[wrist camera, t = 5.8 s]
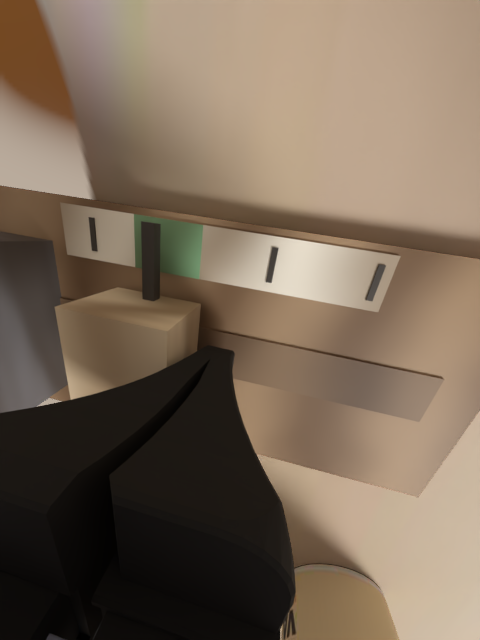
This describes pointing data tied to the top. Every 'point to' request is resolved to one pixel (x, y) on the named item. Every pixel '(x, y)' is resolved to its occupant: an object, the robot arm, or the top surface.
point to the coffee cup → (337, 607)
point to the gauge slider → (126, 329)
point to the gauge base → (265, 327)
